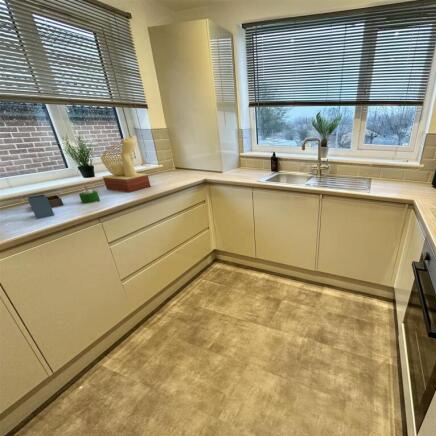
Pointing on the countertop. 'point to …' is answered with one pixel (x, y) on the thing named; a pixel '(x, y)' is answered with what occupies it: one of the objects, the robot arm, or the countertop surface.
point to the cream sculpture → (123, 169)
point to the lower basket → (54, 201)
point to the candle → (89, 196)
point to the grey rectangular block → (40, 206)
